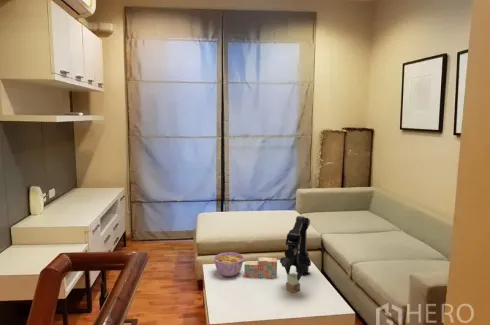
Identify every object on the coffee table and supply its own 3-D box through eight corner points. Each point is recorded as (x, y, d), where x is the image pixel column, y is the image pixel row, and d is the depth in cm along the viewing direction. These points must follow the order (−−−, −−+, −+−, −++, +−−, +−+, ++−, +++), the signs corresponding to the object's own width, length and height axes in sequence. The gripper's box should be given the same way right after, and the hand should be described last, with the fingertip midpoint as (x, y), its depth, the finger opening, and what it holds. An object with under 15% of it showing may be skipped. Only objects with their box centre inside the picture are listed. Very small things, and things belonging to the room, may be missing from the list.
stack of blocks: (244, 277, 251) (244, 260, 249) (245, 274, 257) (245, 256, 255) (276, 279, 248) (276, 261, 246) (277, 275, 254) (277, 257, 253)
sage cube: (293, 280, 234) (293, 272, 233) (298, 283, 229) (299, 275, 229) (287, 282, 231) (287, 274, 230) (292, 285, 227) (292, 277, 226)
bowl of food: (246, 279, 248) (246, 262, 247) (215, 281, 245) (215, 264, 243) (241, 267, 268) (241, 251, 266) (212, 269, 264) (212, 253, 263)
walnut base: (293, 287, 235) (293, 280, 234) (300, 291, 230) (300, 283, 229) (286, 290, 231) (286, 282, 231) (292, 294, 227) (292, 286, 226)
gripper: (273, 251, 231) (273, 275, 232) (294, 260, 215) (293, 286, 217) (287, 247, 237) (286, 271, 239) (308, 256, 222) (307, 281, 224)
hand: (293, 277), depth 230 cm, fingers open, 9 cm apart
